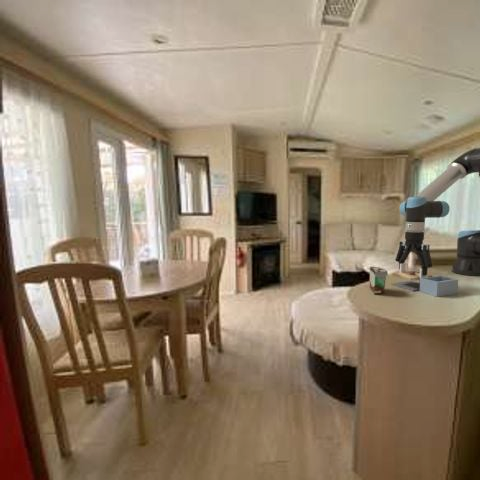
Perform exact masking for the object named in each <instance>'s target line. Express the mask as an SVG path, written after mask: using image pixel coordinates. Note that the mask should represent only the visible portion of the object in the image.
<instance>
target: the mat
mask: <svg viewBox="0 0 480 480" xmlns="http://www.w3.org/2000/svg"><path fill="white" fill-rule="evenodd" d="M390 284H391V286H395V287H397V286H398V288H402V289H403V290H407V289H408V291H411V292H417V291H420V283H419V282H417V281H416V282H415V281H414V280H413V281H409V280H406V281H399V282H393V283H390Z"/></svg>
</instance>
